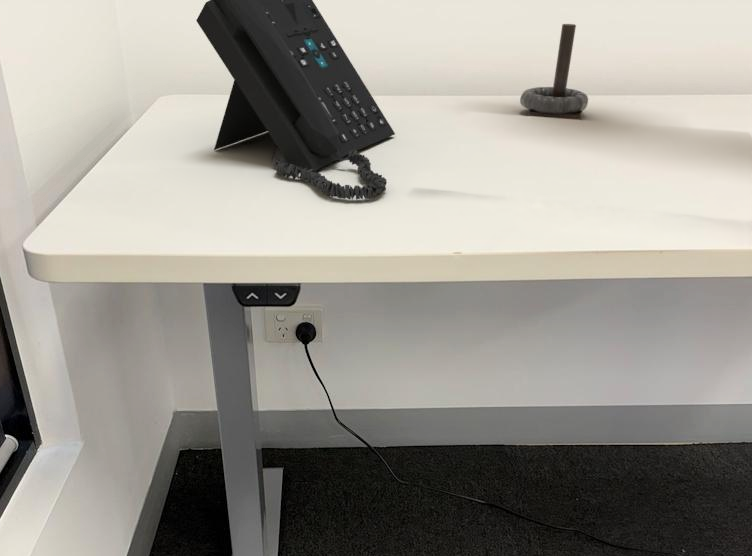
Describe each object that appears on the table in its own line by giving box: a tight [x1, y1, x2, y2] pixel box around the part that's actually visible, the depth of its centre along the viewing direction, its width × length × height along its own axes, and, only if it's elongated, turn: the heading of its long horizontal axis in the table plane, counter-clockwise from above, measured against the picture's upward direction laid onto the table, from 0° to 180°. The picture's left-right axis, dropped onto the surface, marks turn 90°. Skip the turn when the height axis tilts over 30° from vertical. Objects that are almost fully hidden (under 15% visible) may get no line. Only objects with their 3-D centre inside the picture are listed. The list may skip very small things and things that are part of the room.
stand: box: [527, 23, 583, 121], centre depth 116 cm, size 8×8×13 cm
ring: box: [519, 86, 589, 114], centre depth 119 cm, size 10×10×2 cm
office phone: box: [195, 0, 396, 200], centre depth 92 cm, size 29×28×20 cm
